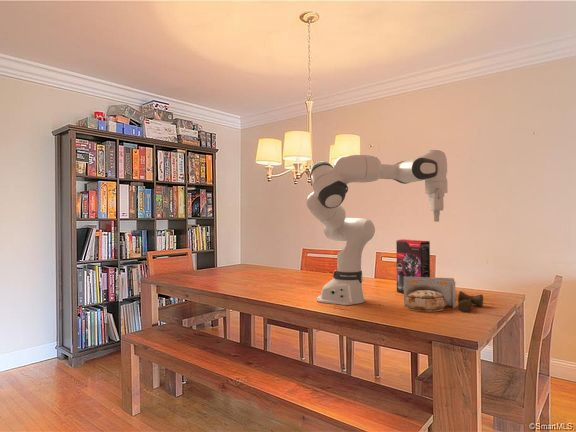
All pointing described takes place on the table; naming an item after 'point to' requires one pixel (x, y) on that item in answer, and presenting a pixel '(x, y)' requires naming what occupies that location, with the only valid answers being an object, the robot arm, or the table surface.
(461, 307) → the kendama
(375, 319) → the table surface
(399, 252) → the graphics card box
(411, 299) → the trinket box
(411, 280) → the bracket
